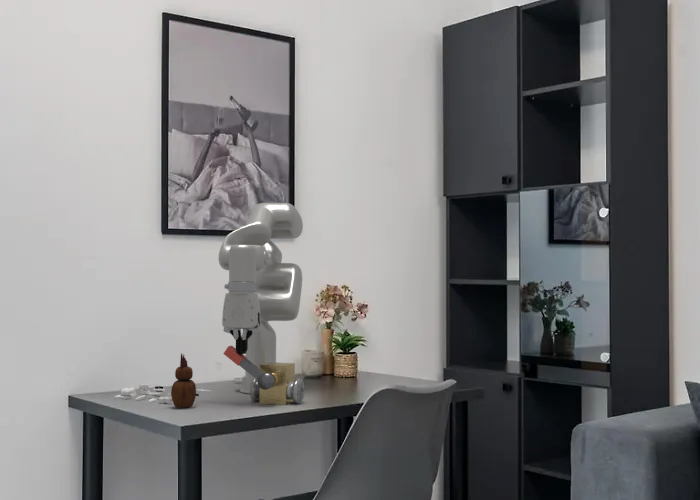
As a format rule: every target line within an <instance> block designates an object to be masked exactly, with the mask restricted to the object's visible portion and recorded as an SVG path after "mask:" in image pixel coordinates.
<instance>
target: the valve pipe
mask: <svg viewBox="0 0 700 500" xmlns="http://www.w3.org/2000/svg"><path fill="white" fill-rule="evenodd" d="M295 366H296V363H295V362H277V361H276V362H268V363H264V364H260V370H262V371H263V372H264V373H272V374H273V375H274V376H275V377H276V384H275V386H274V387H272V388H270V389H267V390H263V389H261V388H260V387H259V386H258V382H257V381H258V380H257V379H255V378H253V379H252V381H251V385H250V394H249V395H250V399H251V401H252V402H259V404H263V405H264V404H266V405H268V404H269V405H285V406H286V405H289V404H291V403H293V404H299V405H300V404H301V403H302V402H303V399H304V398H305V383H304V380H303V379H302V378H295V377H296V375H295V373H296V372H295V371H296V367H295Z"/></svg>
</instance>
